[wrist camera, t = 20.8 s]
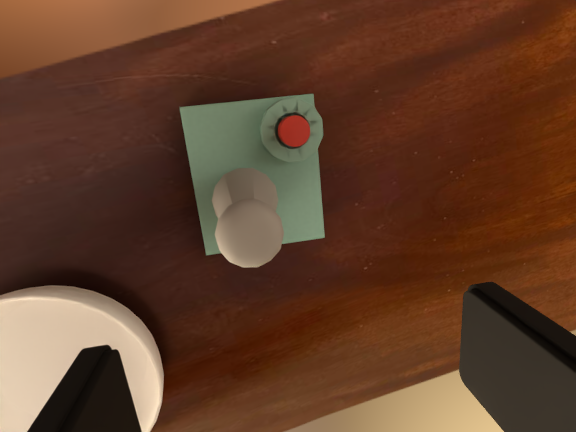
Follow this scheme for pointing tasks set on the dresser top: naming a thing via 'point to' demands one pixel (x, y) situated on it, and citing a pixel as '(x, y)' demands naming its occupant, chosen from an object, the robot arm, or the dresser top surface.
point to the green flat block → (256, 159)
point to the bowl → (69, 349)
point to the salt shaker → (247, 217)
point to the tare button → (293, 131)
